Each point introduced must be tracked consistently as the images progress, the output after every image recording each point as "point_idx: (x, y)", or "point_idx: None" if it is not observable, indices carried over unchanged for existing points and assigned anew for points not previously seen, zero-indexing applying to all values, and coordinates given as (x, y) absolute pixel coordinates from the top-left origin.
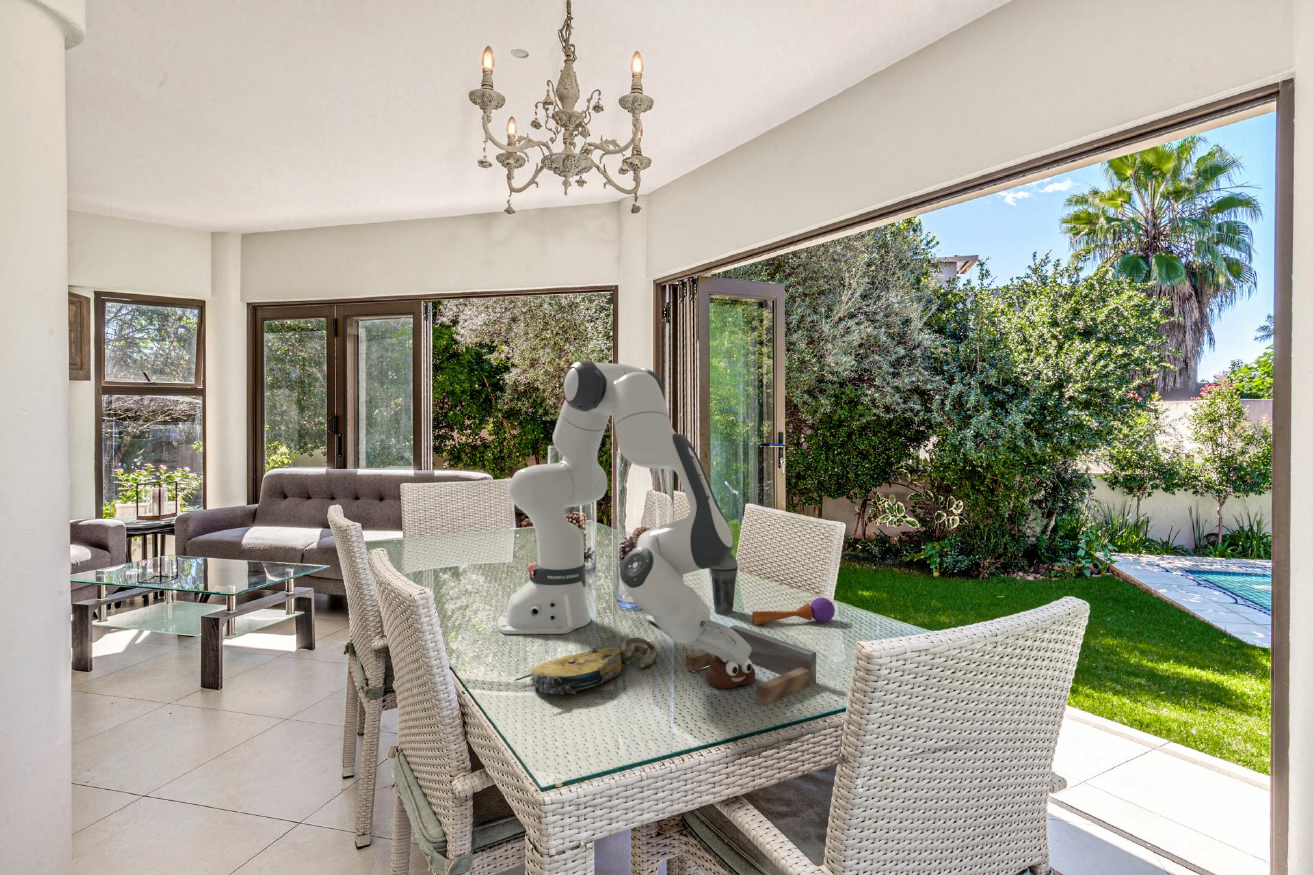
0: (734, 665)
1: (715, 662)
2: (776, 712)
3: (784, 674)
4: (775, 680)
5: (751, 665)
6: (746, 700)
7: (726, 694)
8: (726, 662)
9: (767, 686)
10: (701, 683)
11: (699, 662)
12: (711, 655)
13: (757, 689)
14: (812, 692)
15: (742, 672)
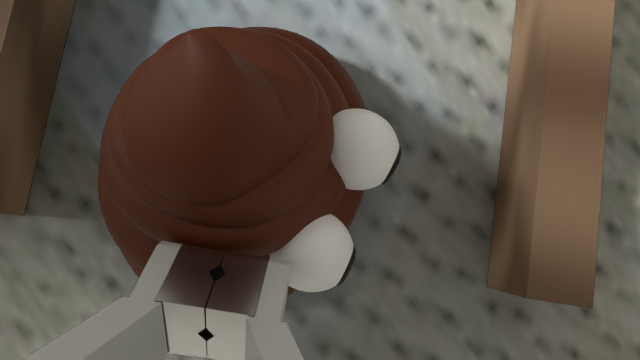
0: (342, 266)
1: None
2: (623, 327)
3: (554, 61)
4: (566, 168)
5: (400, 149)
6: (441, 311)
7: (325, 319)
8: (264, 256)
9: (583, 273)
10: None
11: (8, 154)
12: (20, 50)
13: (517, 294)
14: (619, 30)
15: (352, 195)
